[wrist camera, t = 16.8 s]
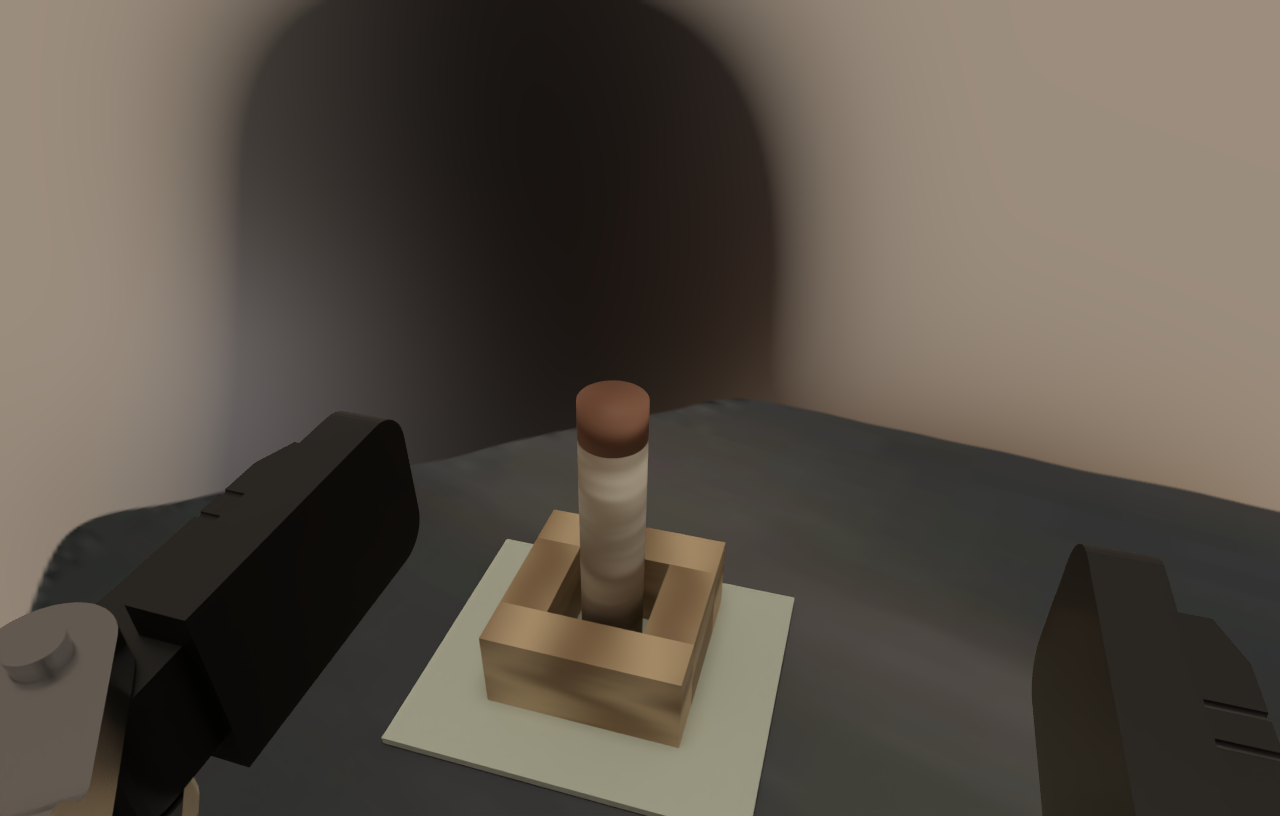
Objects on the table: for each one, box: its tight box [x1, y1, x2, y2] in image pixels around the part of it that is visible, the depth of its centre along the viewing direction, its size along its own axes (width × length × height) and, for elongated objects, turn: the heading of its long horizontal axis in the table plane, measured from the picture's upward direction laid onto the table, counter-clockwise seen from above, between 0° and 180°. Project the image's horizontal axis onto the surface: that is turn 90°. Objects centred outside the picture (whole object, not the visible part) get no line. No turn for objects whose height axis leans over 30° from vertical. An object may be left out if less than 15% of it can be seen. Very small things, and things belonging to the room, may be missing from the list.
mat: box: [382, 539, 794, 816], centre depth 46 cm, size 18×15×1 cm
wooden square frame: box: [479, 510, 726, 748], centre depth 45 cm, size 10×10×4 cm
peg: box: [576, 381, 650, 633], centre depth 42 cm, size 3×3×16 cm
